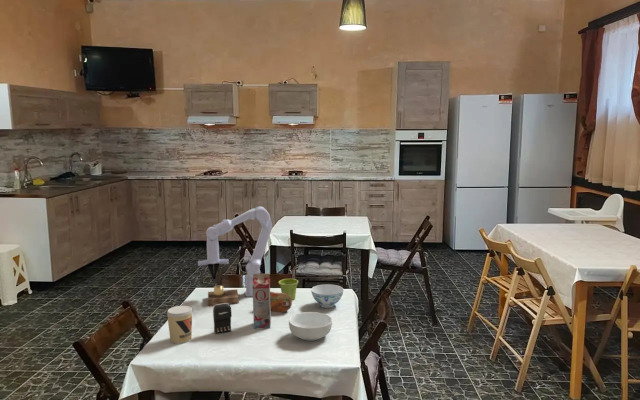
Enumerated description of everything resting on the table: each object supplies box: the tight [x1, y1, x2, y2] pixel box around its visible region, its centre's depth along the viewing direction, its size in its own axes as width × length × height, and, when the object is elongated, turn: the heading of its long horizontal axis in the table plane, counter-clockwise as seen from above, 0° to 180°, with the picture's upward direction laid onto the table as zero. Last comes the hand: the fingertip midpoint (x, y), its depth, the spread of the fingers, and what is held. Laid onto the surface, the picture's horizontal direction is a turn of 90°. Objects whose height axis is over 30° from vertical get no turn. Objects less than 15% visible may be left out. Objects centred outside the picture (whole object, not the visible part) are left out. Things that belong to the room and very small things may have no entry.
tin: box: [270, 291, 293, 313], centre depth 207 cm, size 15×3×8 cm, turn 68°
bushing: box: [213, 284, 224, 297], centre depth 221 cm, size 4×4×7 cm
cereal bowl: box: [288, 311, 333, 342], centre depth 178 cm, size 17×17×7 cm
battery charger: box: [212, 303, 233, 335], centre depth 183 cm, size 7×4×11 cm, turn 115°
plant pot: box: [278, 278, 299, 301], centre depth 222 cm, size 9×9×9 cm
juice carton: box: [252, 273, 272, 330], centre depth 189 cm, size 7×7×22 cm
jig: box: [207, 289, 240, 307], centre depth 221 cm, size 14×12×3 cm
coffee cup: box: [166, 305, 193, 345], centre depth 176 cm, size 9×9×12 cm
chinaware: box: [310, 283, 345, 309], centre depth 213 cm, size 15×15×8 cm
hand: (214, 278), depth 225 cm, fingers closed
